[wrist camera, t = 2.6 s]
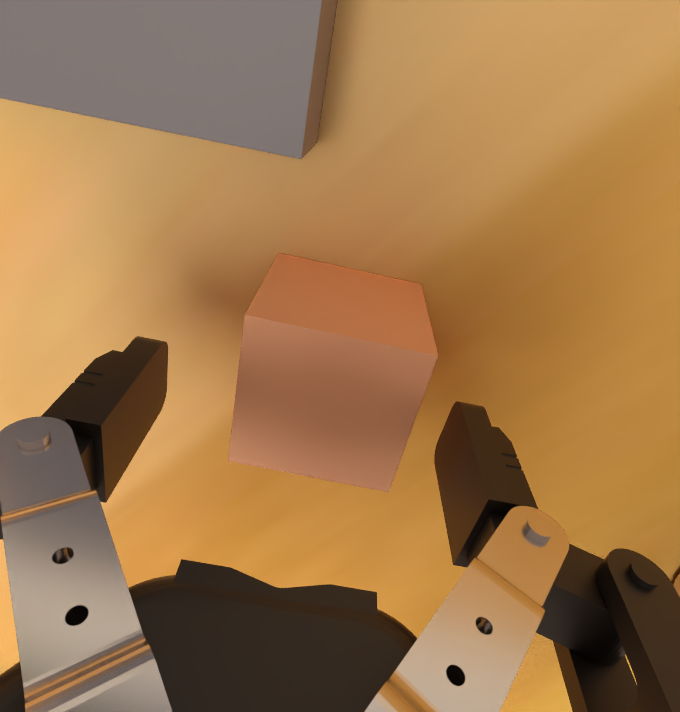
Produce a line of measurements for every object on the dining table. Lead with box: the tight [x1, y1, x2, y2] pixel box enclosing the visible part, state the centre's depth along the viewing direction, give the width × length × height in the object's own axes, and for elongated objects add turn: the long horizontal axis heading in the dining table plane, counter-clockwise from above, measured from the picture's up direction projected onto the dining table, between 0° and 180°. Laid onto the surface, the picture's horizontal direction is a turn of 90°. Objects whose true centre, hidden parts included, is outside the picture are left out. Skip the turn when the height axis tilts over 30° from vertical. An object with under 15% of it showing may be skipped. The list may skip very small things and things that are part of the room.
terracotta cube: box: [228, 253, 438, 492], centre depth 15 cm, size 5×5×5 cm
